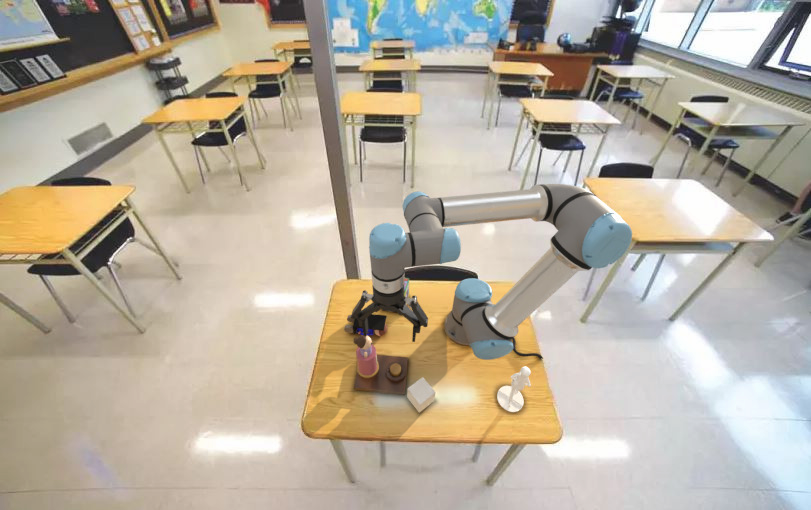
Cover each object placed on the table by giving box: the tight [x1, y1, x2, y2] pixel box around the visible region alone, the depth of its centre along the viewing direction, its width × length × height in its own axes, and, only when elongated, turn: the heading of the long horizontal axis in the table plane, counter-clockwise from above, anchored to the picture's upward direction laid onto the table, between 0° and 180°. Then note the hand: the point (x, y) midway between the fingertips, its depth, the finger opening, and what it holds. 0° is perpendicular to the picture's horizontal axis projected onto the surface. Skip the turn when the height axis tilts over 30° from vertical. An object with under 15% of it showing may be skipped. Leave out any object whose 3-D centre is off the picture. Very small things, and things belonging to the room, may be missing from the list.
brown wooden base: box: [353, 354, 409, 396], centre depth 103 cm, size 16×12×4 cm
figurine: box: [496, 366, 532, 413], centre depth 93 cm, size 8×8×18 cm
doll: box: [353, 334, 379, 378], centre depth 96 cm, size 7×7×17 cm
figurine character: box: [343, 313, 388, 337], centre depth 114 cm, size 7×8×15 cm
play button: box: [390, 363, 401, 377], centre depth 101 cm, size 4×4×2 cm
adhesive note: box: [406, 376, 436, 413], centre depth 97 cm, size 6×6×6 cm
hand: (389, 334), depth 89 cm, fingers open, 13 cm apart
